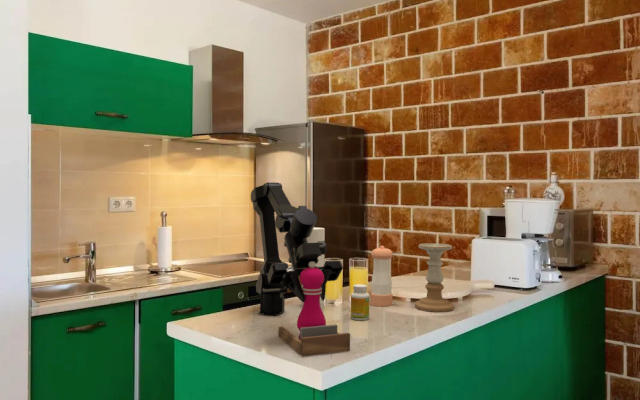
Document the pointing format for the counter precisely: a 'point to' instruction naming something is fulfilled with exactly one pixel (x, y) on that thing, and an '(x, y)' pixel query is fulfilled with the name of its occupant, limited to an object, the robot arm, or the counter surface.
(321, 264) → the cylindrical container
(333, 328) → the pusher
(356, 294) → the supplement bottle
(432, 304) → the candle holder
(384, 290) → the salt shaker
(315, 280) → the pepper mill
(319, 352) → the lane
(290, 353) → the counter surface
